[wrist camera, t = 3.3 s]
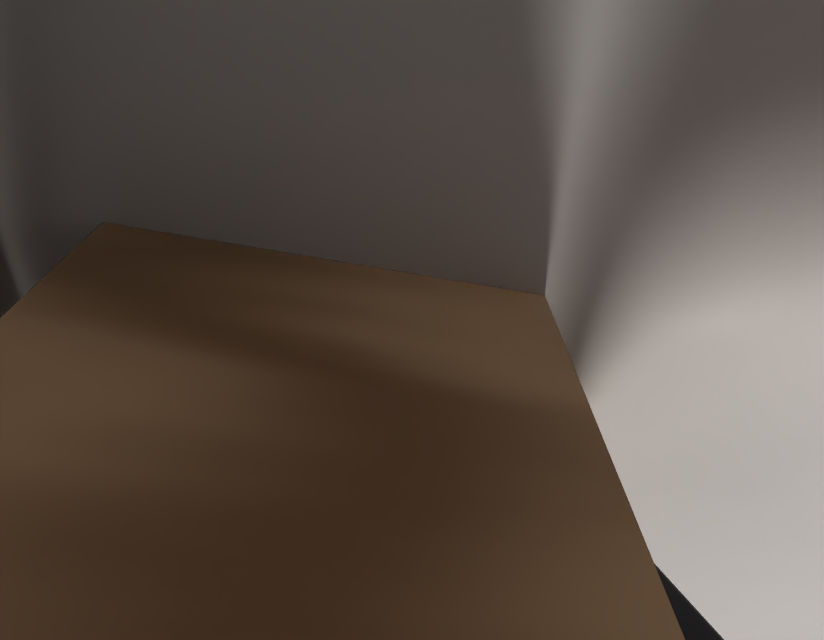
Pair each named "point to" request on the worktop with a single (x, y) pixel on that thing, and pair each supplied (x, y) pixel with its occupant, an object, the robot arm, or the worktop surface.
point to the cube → (302, 457)
